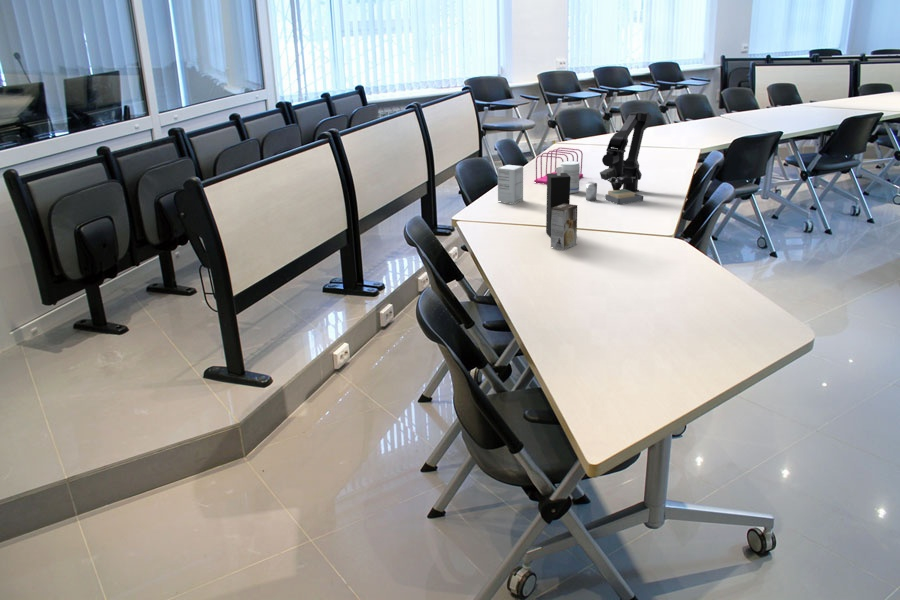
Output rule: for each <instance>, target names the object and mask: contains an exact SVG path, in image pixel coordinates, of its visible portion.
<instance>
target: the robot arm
mask: <svg viewBox="0 0 900 600" xmlns="http://www.w3.org/2000/svg"><path fill="white" fill-rule="evenodd" d="M651 120H652V115H651V114H650V112H648V111H631V112H629V113H628V116H627V119H626V120H625V122H624V123H623V124H622V126H621V128H620V130H619V131H617V132H616V133H614V134H613V135H612V136H611V138H610V140H609V142H608V143H607V144H608V145H607V148H606V152H605V154H604V155H602V156H603V157H602V159H601V162H602V164H603V165H604V166H605V167H607V168H606V169H604V170H602V171H600V172H599V175H600V178H601V180H604V181H607V182H609V183H610V185H611V188H612V191H613V190H621V188H622V189H626V190H629V191H631V192H634V193H637V192H640V189H638V187H639V186H638V185H639V181H640V180H641V179H642V176H643V175H642V172H641V170H640V164H639V161H638V159H639V154H640V151H641V145H642V140H643V136H644V132H645V130H647V128H648V127H649V125H650V122H651ZM632 131H633V132H632ZM631 133H632V137H631V141H630V146H629V151H628V155H627V158H626V159H624V158H625V153H626V152H627V151H626V148H627V146H628V144H629V139H628V138H629V136H630V134H631Z"/></svg>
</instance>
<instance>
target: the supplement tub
mask: <svg viewBox="0 0 900 600" xmlns="http://www.w3.org/2000/svg"><path fill="white" fill-rule="evenodd" d="M560 167H562V171H561V173H567V174H568V175H569V176H570V177H571V181H570V194H575V193H578V192H579V191H580V178H579V175H580V171H581V164H580V162H579V161H578V162H577V161H575V160H574V161H573V160H571V161H570V160H568V161H567V160H566V161H564V162H560Z"/></svg>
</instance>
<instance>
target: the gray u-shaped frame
mask: <svg viewBox="0 0 900 600" xmlns="http://www.w3.org/2000/svg"><path fill="white" fill-rule="evenodd" d="M634 193H635V196H634V197H627V198H620V199H619V198H616V197H613V196H611V195H608V193H607V194H605V196H604V200H605V199H606V200H605V201H608V202H610V201H611V202H610V203H613V202H614V204H616V203H617V204H616V205H618V204H619V205H624V204H623V203H625V204H631V202H632V203H637V202H638V201H639V202H644V195H642V194H640V193H637V192H634Z"/></svg>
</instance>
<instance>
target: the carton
mask: <svg viewBox="0 0 900 600" xmlns="http://www.w3.org/2000/svg"><path fill="white" fill-rule="evenodd" d="M635 193H636V192H631V191H629V190H626V189H623V188H622V189H621V188H620V190H613V189H612V190H608V192H607V194H608V195H611V196H613V197H616V198H619V199H620V198H627V197H634V196H635Z"/></svg>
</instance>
